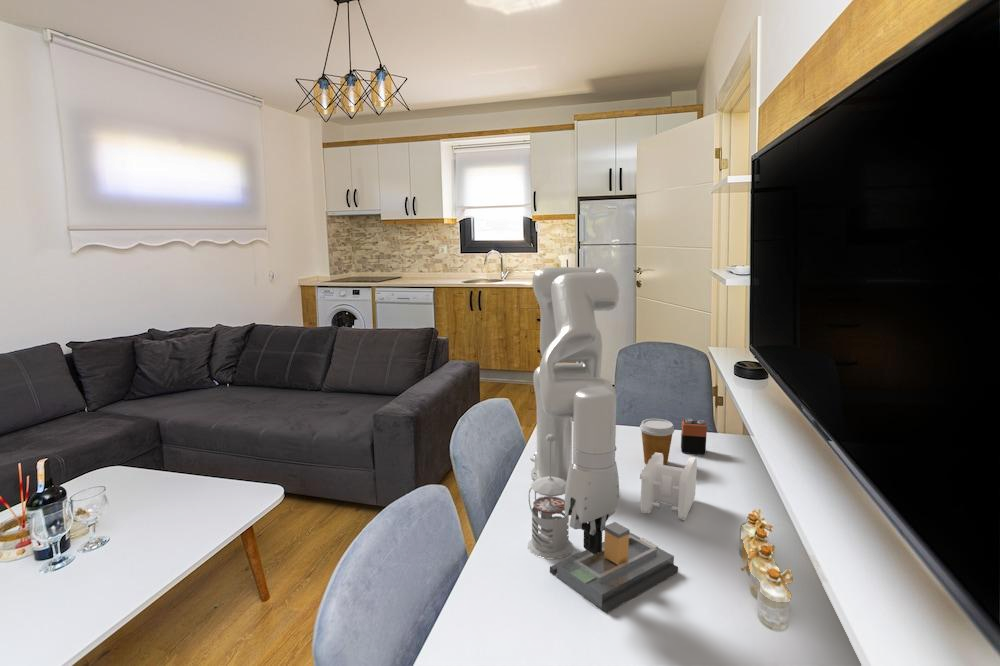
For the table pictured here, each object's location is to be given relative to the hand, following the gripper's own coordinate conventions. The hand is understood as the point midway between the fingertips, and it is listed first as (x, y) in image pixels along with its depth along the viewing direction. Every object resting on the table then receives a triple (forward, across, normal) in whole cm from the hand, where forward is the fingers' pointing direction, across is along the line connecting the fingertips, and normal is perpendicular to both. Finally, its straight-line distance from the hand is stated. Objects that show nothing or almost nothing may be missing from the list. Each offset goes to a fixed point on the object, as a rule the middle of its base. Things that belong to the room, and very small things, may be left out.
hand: (592, 550), depth 106 cm
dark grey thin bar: (+8, -7, +6) cm, 12 cm away
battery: (+7, -72, -30) cm, 78 cm away
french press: (+8, -3, -17) cm, 19 cm away
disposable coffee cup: (+7, -56, -30) cm, 64 cm away
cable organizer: (+8, -37, -12) cm, 39 cm away
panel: (+8, -7, 0) cm, 10 cm away
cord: (+8, -7, -8) cm, 13 cm away
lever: (+4, -7, 0) cm, 8 cm away
